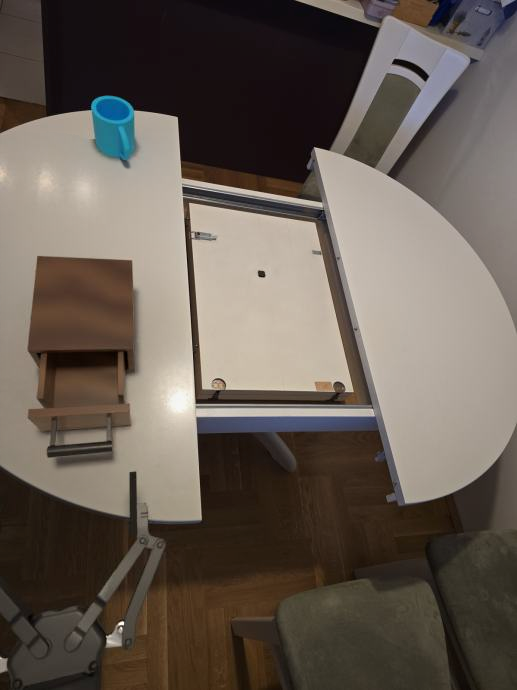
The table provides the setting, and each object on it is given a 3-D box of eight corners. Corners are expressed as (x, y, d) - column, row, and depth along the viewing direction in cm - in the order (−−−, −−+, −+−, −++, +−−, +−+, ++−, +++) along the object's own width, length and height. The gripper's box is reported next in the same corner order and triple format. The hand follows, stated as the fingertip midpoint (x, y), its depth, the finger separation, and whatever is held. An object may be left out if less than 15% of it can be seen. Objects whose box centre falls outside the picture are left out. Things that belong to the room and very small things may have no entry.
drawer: (131, 457, 59) (129, 447, 52) (38, 466, 55) (23, 457, 49) (130, 340, 67) (128, 319, 60) (48, 341, 63) (37, 318, 56)
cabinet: (134, 372, 66) (133, 348, 57) (43, 375, 62) (27, 350, 53) (133, 292, 72) (132, 260, 63) (50, 290, 68) (37, 255, 59)
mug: (90, 133, 85) (85, 97, 78) (126, 129, 88) (125, 94, 81) (109, 173, 82) (106, 139, 75) (147, 167, 85) (147, 134, 78)
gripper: (-94, 753, 34) (-52, 497, 42) (191, 676, 42) (179, 471, 50) (-149, 806, 28) (-87, 491, 36) (200, 704, 35) (185, 463, 43)
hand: (68, 479), depth 43 cm, fingers open, 13 cm apart
